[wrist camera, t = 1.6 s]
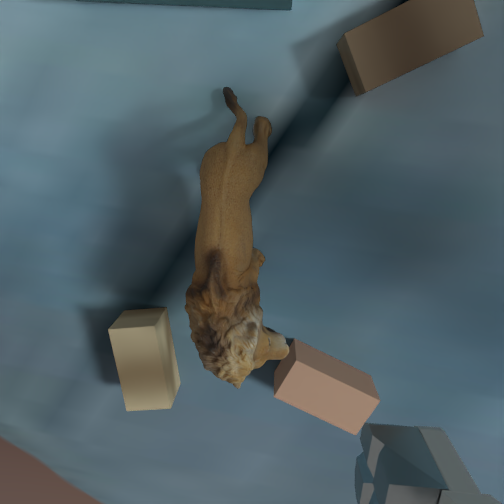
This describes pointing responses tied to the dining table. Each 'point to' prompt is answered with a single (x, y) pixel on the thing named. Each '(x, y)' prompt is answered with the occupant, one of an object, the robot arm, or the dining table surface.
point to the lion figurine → (231, 257)
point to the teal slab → (216, 3)
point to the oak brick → (145, 358)
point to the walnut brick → (406, 40)
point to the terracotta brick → (325, 387)
